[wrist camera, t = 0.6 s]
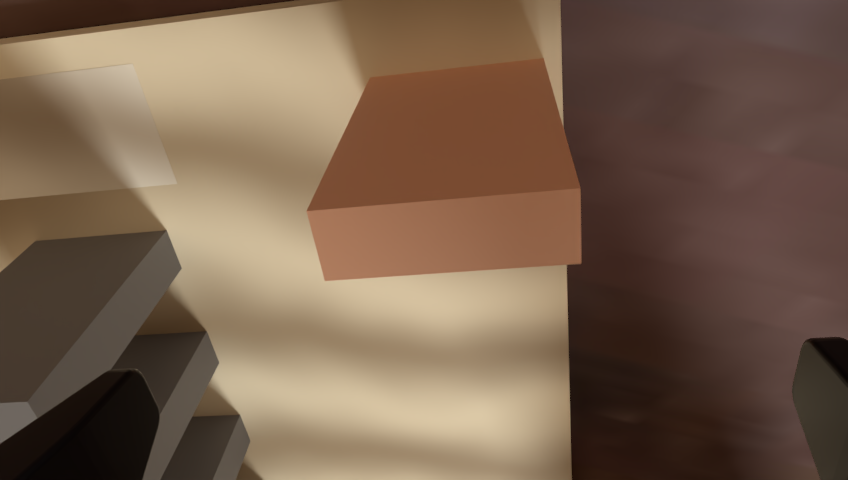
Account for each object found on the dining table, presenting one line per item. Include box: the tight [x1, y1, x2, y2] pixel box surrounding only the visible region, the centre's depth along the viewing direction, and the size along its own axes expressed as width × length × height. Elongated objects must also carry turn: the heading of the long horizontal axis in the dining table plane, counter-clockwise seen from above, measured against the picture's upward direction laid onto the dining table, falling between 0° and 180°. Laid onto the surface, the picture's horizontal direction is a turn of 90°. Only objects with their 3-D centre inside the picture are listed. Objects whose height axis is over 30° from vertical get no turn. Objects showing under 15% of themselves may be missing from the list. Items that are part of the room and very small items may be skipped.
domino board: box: [0, 0, 572, 480], centre depth 25 cm, size 24×22×1 cm
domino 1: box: [0, 230, 182, 443], centre depth 19 cm, size 2×5×8 cm, turn 98°
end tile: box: [307, 58, 581, 281], centre depth 15 cm, size 2×5×8 cm, turn 98°
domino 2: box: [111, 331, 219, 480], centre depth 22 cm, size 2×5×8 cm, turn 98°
